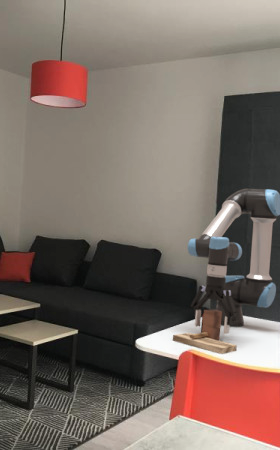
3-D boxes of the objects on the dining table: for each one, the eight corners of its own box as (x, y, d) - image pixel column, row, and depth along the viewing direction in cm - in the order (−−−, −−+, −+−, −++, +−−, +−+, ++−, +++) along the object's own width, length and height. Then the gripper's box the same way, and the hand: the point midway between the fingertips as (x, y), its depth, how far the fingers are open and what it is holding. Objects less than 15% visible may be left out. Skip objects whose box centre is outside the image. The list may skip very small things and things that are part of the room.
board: (187, 337, 203) (188, 332, 203) (236, 350, 189) (236, 344, 189) (172, 340, 196) (173, 334, 196) (221, 353, 181) (222, 348, 181)
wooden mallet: (209, 339, 205) (212, 309, 205) (219, 341, 202) (222, 311, 202) (186, 343, 193) (189, 311, 193) (195, 346, 190) (198, 314, 190)
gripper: (185, 271, 206) (180, 324, 207) (239, 280, 190) (234, 337, 190) (195, 271, 212) (191, 322, 212) (249, 280, 196) (244, 335, 196)
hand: (211, 329), depth 201 cm, fingers open, 13 cm apart
